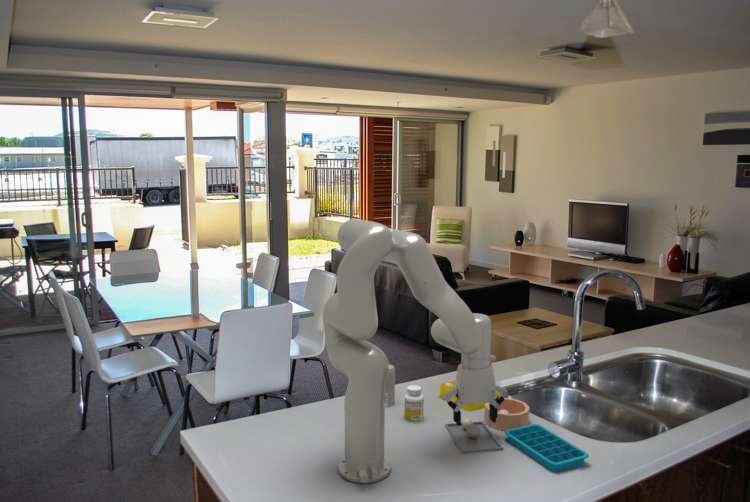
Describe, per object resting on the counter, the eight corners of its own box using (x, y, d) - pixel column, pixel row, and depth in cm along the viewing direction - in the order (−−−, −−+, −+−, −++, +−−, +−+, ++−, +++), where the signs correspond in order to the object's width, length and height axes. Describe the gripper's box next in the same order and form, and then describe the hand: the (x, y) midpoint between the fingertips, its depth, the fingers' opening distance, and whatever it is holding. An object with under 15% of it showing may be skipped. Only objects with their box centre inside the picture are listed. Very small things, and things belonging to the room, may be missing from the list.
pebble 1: (474, 431, 168) (474, 420, 168) (463, 431, 168) (463, 421, 168) (470, 426, 171) (471, 416, 171) (460, 427, 171) (460, 417, 170)
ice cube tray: (536, 433, 169) (536, 423, 169) (590, 467, 151) (591, 455, 151) (501, 441, 164) (502, 430, 164) (553, 477, 146) (554, 465, 146)
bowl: (535, 430, 170) (535, 413, 169) (493, 433, 168) (494, 416, 167) (518, 412, 181) (519, 396, 181) (479, 415, 180) (479, 399, 179)
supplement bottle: (411, 414, 180) (412, 382, 179) (426, 419, 177) (427, 387, 175) (400, 420, 176) (401, 387, 175) (416, 425, 173) (416, 392, 171)
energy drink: (385, 399, 191) (386, 362, 189) (398, 404, 187) (398, 366, 185) (373, 404, 187) (373, 366, 185) (386, 409, 184) (386, 370, 182)
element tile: (505, 403, 189) (506, 388, 188) (468, 414, 181) (468, 398, 181) (473, 387, 202) (473, 373, 201) (436, 397, 194) (437, 382, 193)
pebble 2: (481, 440, 163) (481, 427, 163) (468, 440, 163) (468, 428, 162) (477, 433, 167) (477, 421, 166) (464, 434, 166) (464, 422, 166)
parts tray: (503, 451, 158) (503, 447, 158) (461, 454, 156) (461, 450, 156) (482, 424, 174) (482, 421, 173) (444, 427, 172) (444, 423, 172)
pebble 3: (512, 426, 171) (513, 412, 171) (498, 427, 171) (499, 413, 170) (507, 420, 175) (507, 406, 174) (493, 421, 174) (494, 407, 174)
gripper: (502, 353, 167) (501, 413, 169) (440, 358, 164) (440, 418, 167) (512, 363, 159) (511, 425, 162) (447, 368, 157) (447, 431, 160)
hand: (475, 422), depth 165 cm, fingers open, 9 cm apart
